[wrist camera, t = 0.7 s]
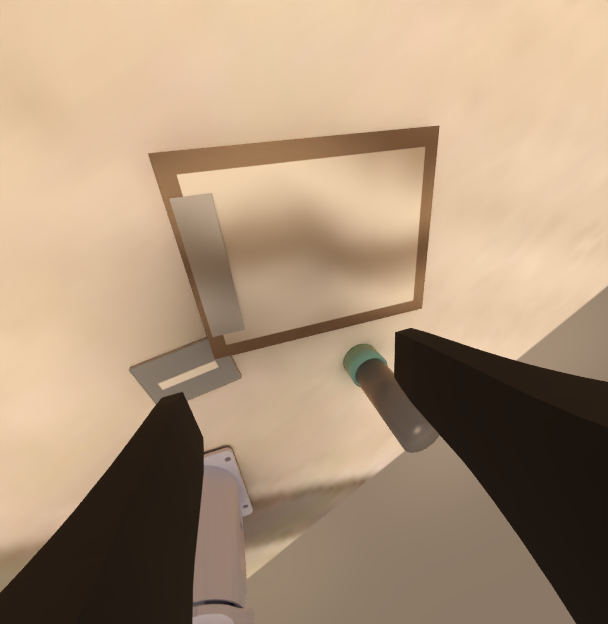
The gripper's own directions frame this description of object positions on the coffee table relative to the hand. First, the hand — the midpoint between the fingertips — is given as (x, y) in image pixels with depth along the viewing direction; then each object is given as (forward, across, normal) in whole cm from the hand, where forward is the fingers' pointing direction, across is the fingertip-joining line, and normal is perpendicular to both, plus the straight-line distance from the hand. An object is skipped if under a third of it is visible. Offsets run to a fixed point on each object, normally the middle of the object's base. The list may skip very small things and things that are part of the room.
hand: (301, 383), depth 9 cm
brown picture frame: (+10, -4, -2) cm, 11 cm away
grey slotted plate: (+10, +6, +5) cm, 13 cm away
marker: (+10, -7, +8) cm, 14 cm away
